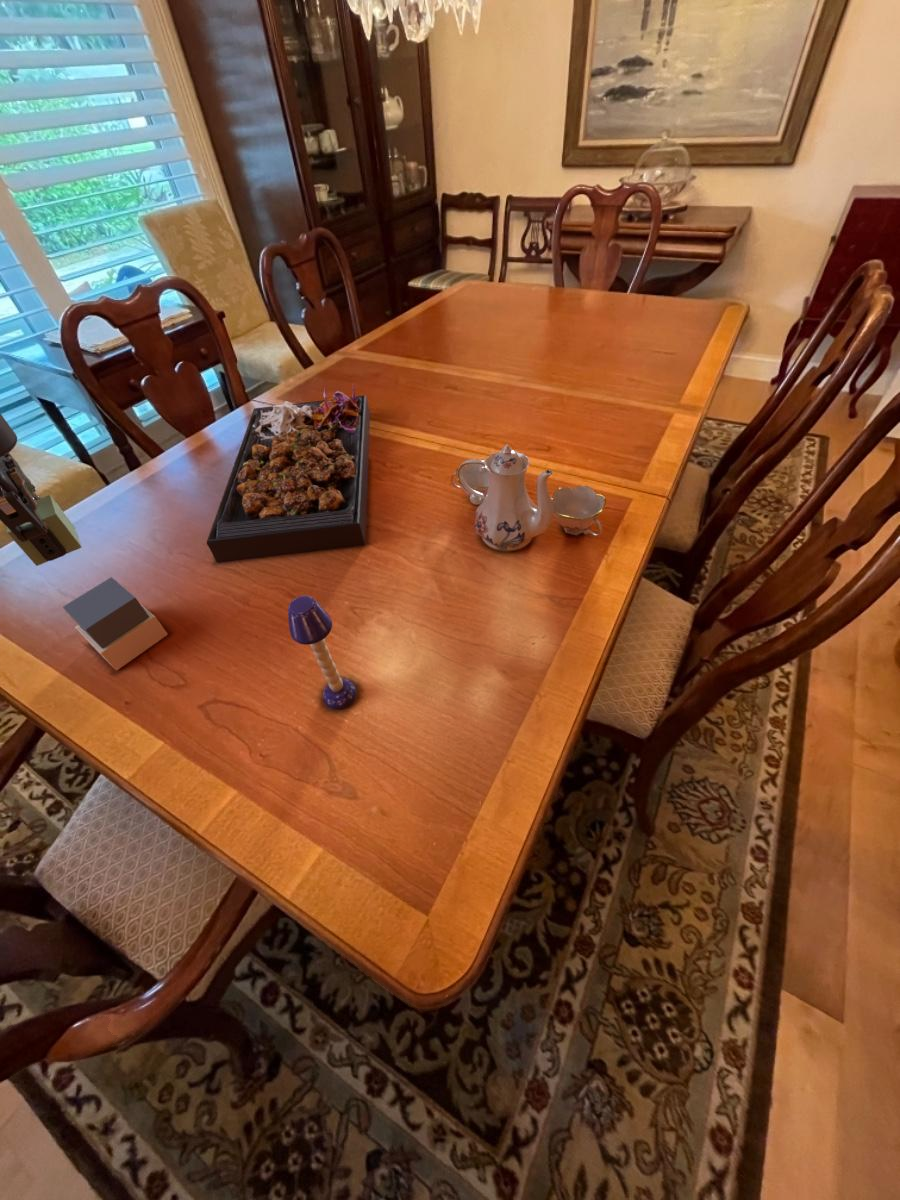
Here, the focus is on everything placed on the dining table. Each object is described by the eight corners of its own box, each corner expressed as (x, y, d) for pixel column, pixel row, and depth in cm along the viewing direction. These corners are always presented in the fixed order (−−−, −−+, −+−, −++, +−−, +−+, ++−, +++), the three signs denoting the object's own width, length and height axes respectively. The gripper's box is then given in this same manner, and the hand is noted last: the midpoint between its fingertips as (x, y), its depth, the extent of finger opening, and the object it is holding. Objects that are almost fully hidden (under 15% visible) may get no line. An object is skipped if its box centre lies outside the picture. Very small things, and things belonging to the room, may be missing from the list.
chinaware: (612, 524, 89) (632, 428, 78) (580, 581, 78) (598, 479, 67) (463, 488, 99) (461, 399, 88) (417, 534, 89) (408, 439, 78)
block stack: (116, 671, 74) (83, 634, 68) (90, 644, 78) (56, 607, 72) (168, 634, 78) (140, 596, 72) (141, 611, 82) (112, 573, 76)
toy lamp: (313, 703, 67) (270, 615, 55) (332, 674, 70) (295, 584, 58) (346, 713, 66) (309, 626, 54) (364, 684, 69) (333, 594, 57)
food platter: (260, 427, 119) (243, 381, 112) (370, 414, 119) (360, 368, 112) (217, 562, 88) (189, 512, 81) (365, 545, 88) (351, 493, 81)
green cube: (36, 566, 62) (7, 532, 58) (31, 544, 65) (3, 511, 61) (82, 547, 63) (56, 513, 60) (75, 527, 66) (50, 494, 63)
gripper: (-99, 398, 54) (13, 529, 67) (-104, 454, 46) (26, 592, 58) (-17, 374, 57) (77, 504, 69) (-7, 423, 48) (98, 561, 61)
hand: (53, 544), depth 64 cm, fingers closed on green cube, 5 cm apart
